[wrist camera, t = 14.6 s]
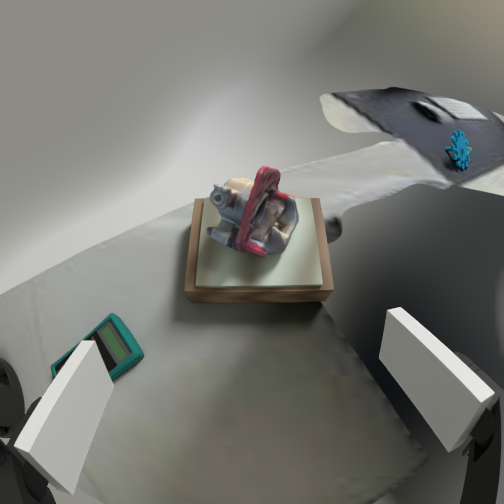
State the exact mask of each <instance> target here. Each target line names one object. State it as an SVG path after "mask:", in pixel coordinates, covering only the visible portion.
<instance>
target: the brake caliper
mask: <svg viewBox="0 0 504 504" xmlns="http://www.w3.org/2000/svg"><path fill="white" fill-rule="evenodd" d="M279 181H280V172H279V171H278V170H277V169H274V168H270V167H267V166H262V167H261V168H260V169H259V171H258V172H257V175H256V178H255V181H254V180H251V179H247V178H243V177H238V178H231V179H230V180H228V181H227V182H226V183H225V184H224V185H221V184H214V187H215V189H214V190H213V192H212V193H211V195H210V202H211V203H212V204H213V205H214V206H215V207H216V208H217V210H218V212H219V214H220V215H221V221H220V224H219V226H218V227H208V228H207V229H206V232H207V233H208V234H209V235H210V236H211V238H213V239H214V240H216V241H218V242H220V243H221V244H223V245H225V246H227V247H229V248H231V249H234V250H235V251H238V252H249V253H252V254H255V255H257V256H259V257H262V258H266V257H267V255H271V254H281V253H283V252H284V251H285V249H286V247H287V245H288V243H289V240H290V237H291V234H292V233H293V231H294V229H295V228H296V226H297V224H298V222H299V214H298V210H297V205H296V202H295V197H293V196H291V195H288V194H285V193H282V192H280V191H279V190H278V184H279Z"/></svg>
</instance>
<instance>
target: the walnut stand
mask: <svg viewBox="0 0 504 504" xmlns="http://www.w3.org/2000/svg"><path fill="white" fill-rule="evenodd" d="M295 202H296V205H297V210H298V214H299V222H298V224H297V226H296V228H295V229H294V231H293V233H292V234H291V237H290V240H289V243H288V245H287V247H286V249H285V251H284V252H283V253H281V254H271V255H267V257H266V258H262V257H259V256H257V255H255V254H252V253H249V252H238V251H235V250H234V249H231V248H229V247H227V246H225V245H223V244H221V243H220V242H218V241H216V240H214V239H213V238H211V236H210V235H209V234H208V233H207V232H206V229H207V228H208V227H218V226H219V224H220V221H221V215H220V214H219V212H218V210H217V208H216V207H215V206H214V205H213V204H212V203H211V202H210V198H204V199H195V202H194V209H193V217H192V224H191V232H190V240H189V249H188V258H187V267H186V277H185V288H184V292H185V293H186V295H187V296H188V298H189V299H190V301H191V302H194V303H281V302H315V301H326V299H327V298H328V297H329V295H330V294H331V293H332V291H333V290H334V287H333V280H332V272H331V265H330V258H329V251H328V245H327V238H326V232H325V226H324V220H323V215H322V209H321V204H320V199H319V198H295Z"/></svg>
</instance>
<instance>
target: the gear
mask: <svg viewBox="0 0 504 504" xmlns="http://www.w3.org/2000/svg"><path fill="white" fill-rule="evenodd" d="M453 135H454V136H452V137H451V141H452V142H453V144H454V145H451V147H446V151H455V153H456V154H453V155H452V156H453V160H457V158H458V161H456V165H457V167H460V168H461V169H464V168H465V167H467V166H468V163H467V161H470V157H469V156H468V154H469V153H470V151H472V148H471V147H467V146H466V144H469V143H468V140H467V139H465V140H464V139H463V138H464V137H465V133H461V130H459V129H458V130H457V131H453ZM460 135H461V136H460Z"/></svg>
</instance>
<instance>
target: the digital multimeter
mask: <svg viewBox="0 0 504 504" xmlns="http://www.w3.org/2000/svg"><path fill="white" fill-rule="evenodd" d="M83 340H84V341H95V342H96V344H97V347H98V350H99V352H100V355H101V357H102V359H103V362H104V364H105V367H106V369H107V371H108V373H109V376H110V378H111V380H112V381H113V380H114V379H115V378H117V377H118V376H119V375H120V374H122V373H123V372H124V371H126V370H127V369H129V368H130V367H131V366H133V365H134V364H136V363H137V362H138V361H140V360H141V359H142V358H143V357H144V353H143V351H142V350H141V348H140V346H139V345H138V343H137V341H136V340H135V338H134V337H133V335H132V334H131V332H130V331H129V329H128V328H127V327H126V325H125V324H124V323H123V321H122V320H121V319H120V318H119V317H118V316H117V315H115V314H113V313H111V314H110V315H108V316H107V317H106V318H105V319H104V320H103V321H102V322H101V323H100V324H99V325H98V326H97V327H96V328H95V329H94V330H93V331H92V332H90V333H89V334H88V335H87V336H86V337H85V338H84V339H83ZM81 341H82V340H81ZM81 341H80V342H81ZM80 342H79V343H78V344H77V345H76V346H75V347H73V348H72V349H71V350H70V351H69V352H67V353H66V354H65V355H64V356H63V357H61V358H60V359H59V360H57V361H56V362H55V363H54V364H52V365H51V371H52V374H53V378H54V379H55V377H56V376H57V374H58V373H59V372H60V370H61V369H62V367H63V366H64V364H65V363H66V362H67V360H68V359H69V357H70V356H71V355H72V353H73V352H74V350H75V349H76V348H77V346H78V345H79V344H80Z"/></svg>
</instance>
